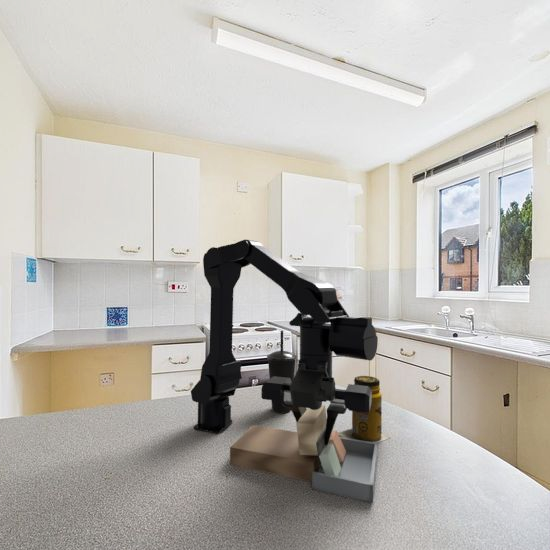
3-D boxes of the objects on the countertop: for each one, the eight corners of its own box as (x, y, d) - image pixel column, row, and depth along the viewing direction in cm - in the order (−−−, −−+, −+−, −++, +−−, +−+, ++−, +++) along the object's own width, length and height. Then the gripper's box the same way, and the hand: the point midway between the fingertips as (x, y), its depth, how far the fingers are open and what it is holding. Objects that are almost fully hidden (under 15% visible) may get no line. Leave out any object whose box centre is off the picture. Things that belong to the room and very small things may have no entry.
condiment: (390, 438, 69) (390, 380, 70) (362, 448, 65) (362, 386, 65) (363, 425, 75) (363, 372, 76) (336, 434, 71) (336, 377, 71)
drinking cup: (268, 403, 89) (269, 328, 90) (297, 405, 88) (297, 329, 89) (264, 414, 81) (264, 332, 82) (295, 416, 80) (295, 333, 81)
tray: (312, 489, 51) (312, 473, 51) (329, 448, 64) (329, 435, 65) (372, 503, 48) (372, 485, 48) (377, 456, 61) (377, 443, 61)
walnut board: (229, 464, 58) (230, 447, 59) (252, 439, 68) (253, 425, 68) (313, 482, 53) (313, 463, 53) (325, 453, 63) (325, 436, 63)
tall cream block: (299, 454, 55) (296, 423, 55) (312, 432, 63) (309, 405, 63) (320, 455, 53) (316, 423, 54) (330, 432, 62) (327, 405, 62)
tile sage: (318, 456, 53) (327, 454, 53) (324, 445, 57) (332, 443, 57) (327, 482, 53) (336, 480, 52) (332, 469, 56) (341, 467, 56)
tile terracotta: (325, 441, 59) (332, 439, 58) (329, 432, 62) (336, 429, 62) (335, 464, 58) (342, 461, 58) (338, 453, 62) (346, 451, 61)
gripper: (249, 357, 55) (247, 454, 54) (366, 367, 48) (366, 477, 48) (272, 346, 65) (272, 427, 64) (371, 353, 59) (372, 443, 58)
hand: (315, 442), depth 58 cm, fingers closed on tall cream block, 4 cm apart
